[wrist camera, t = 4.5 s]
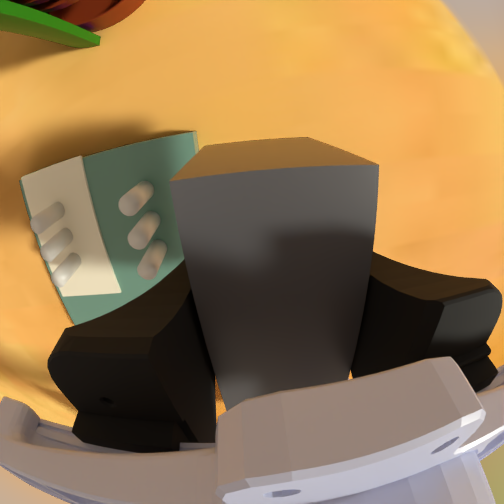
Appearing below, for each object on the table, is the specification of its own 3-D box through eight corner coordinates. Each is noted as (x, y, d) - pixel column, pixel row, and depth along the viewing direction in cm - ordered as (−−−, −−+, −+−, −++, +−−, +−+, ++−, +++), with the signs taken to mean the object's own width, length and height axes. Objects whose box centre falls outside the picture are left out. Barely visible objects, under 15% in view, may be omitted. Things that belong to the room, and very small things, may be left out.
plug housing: (308, 318, 14) (337, 415, 9) (232, 326, 14) (233, 428, 9) (307, 137, 10) (379, 164, 5) (204, 145, 10) (169, 181, 5)
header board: (227, 320, 23) (227, 360, 19) (87, 326, 23) (70, 359, 19) (195, 127, 16) (182, 131, 12) (29, 173, 16) (-7, 190, 12)
